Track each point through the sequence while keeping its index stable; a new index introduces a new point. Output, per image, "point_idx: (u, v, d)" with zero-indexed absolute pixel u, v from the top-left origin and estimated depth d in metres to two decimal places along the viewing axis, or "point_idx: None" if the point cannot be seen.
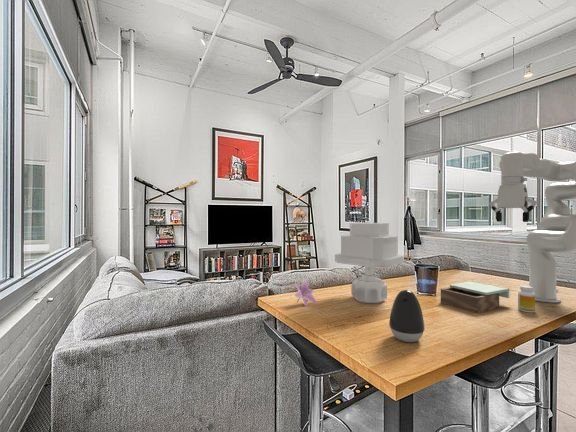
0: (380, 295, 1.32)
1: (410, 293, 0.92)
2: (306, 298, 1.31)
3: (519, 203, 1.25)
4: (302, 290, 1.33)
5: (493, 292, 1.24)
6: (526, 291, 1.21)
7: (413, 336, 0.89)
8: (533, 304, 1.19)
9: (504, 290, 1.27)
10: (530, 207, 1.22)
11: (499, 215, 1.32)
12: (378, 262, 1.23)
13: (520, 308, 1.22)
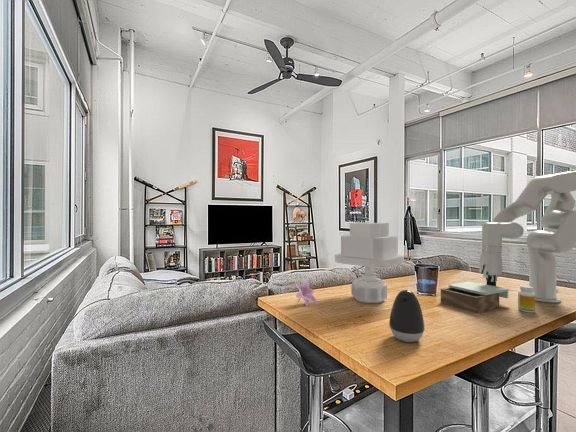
0: (380, 295, 1.32)
1: (410, 293, 0.92)
2: (306, 298, 1.31)
3: (501, 270, 1.36)
4: (303, 290, 1.33)
5: (492, 292, 1.24)
6: (526, 291, 1.21)
7: (413, 336, 0.89)
8: (533, 304, 1.19)
9: (503, 290, 1.27)
10: (496, 276, 1.37)
11: None
12: (378, 262, 1.23)
13: (520, 308, 1.22)
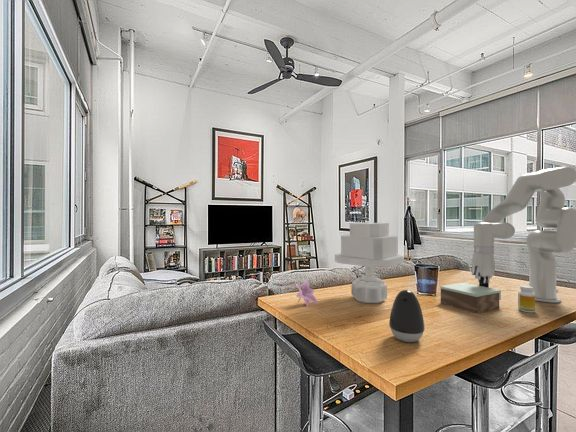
0: (380, 295, 1.32)
1: (410, 293, 0.92)
2: (307, 298, 1.31)
3: (493, 271, 1.34)
4: (303, 290, 1.33)
5: (484, 294, 1.21)
6: (526, 291, 1.21)
7: (413, 336, 0.89)
8: (533, 304, 1.19)
9: (495, 292, 1.25)
10: None
11: None
12: (378, 262, 1.23)
13: (520, 308, 1.22)
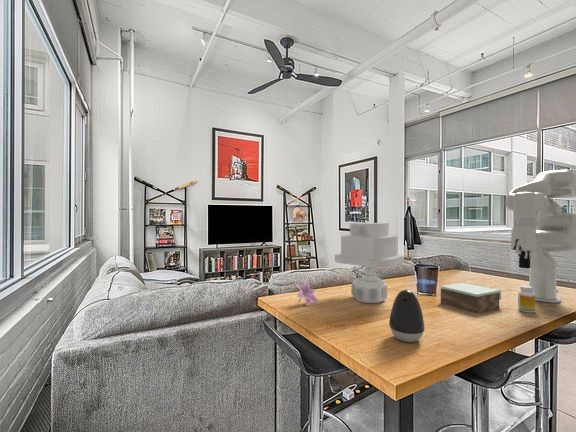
0: (380, 295, 1.32)
1: (410, 293, 0.92)
2: (307, 298, 1.31)
3: (535, 246, 1.22)
4: (304, 290, 1.32)
5: (484, 294, 1.21)
6: (526, 291, 1.21)
7: (413, 336, 0.89)
8: (533, 304, 1.19)
9: (496, 292, 1.25)
10: (530, 253, 1.23)
11: None
12: (378, 262, 1.23)
13: (520, 308, 1.22)
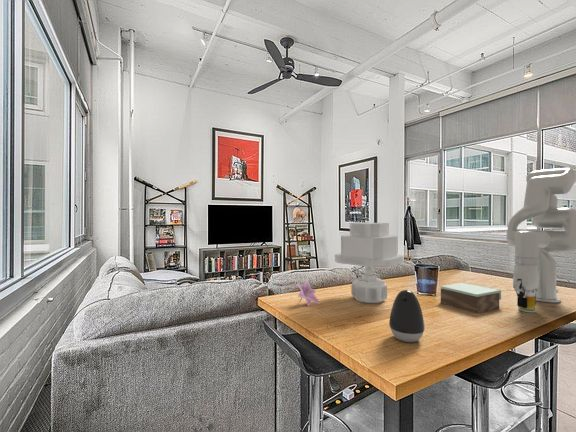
0: (380, 295, 1.32)
1: (410, 293, 0.92)
2: (308, 298, 1.31)
3: (537, 285, 1.22)
4: (304, 290, 1.32)
5: (484, 294, 1.21)
6: None
7: (413, 336, 0.89)
8: (533, 304, 1.19)
9: (496, 292, 1.25)
10: (535, 290, 1.24)
11: None
12: (378, 262, 1.23)
13: (520, 308, 1.22)
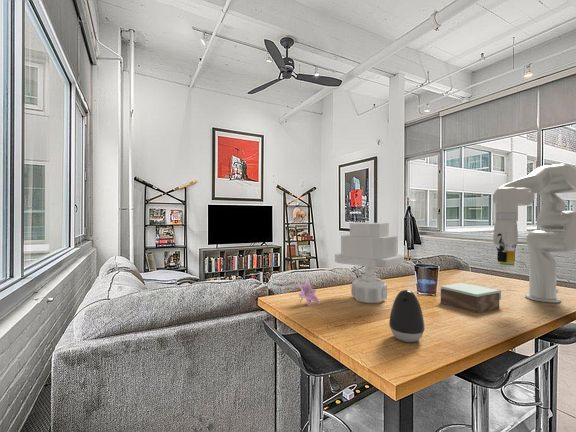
0: (380, 295, 1.32)
1: (410, 293, 0.92)
2: (309, 298, 1.31)
3: (516, 240, 1.24)
4: (305, 290, 1.32)
5: (484, 294, 1.21)
6: None
7: (413, 336, 0.89)
8: (512, 258, 1.22)
9: (496, 292, 1.25)
10: (515, 246, 1.26)
11: None
12: (378, 262, 1.23)
13: (500, 263, 1.24)
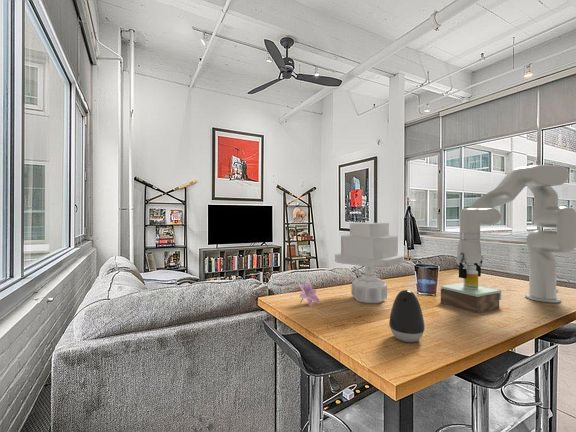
0: (380, 295, 1.32)
1: (410, 293, 0.92)
2: (309, 298, 1.31)
3: (479, 259, 1.29)
4: (306, 290, 1.32)
5: (484, 294, 1.21)
6: (470, 269, 1.28)
7: (413, 336, 0.89)
8: (476, 281, 1.27)
9: (496, 292, 1.25)
10: (481, 262, 1.32)
11: None
12: (378, 262, 1.23)
13: (465, 285, 1.30)
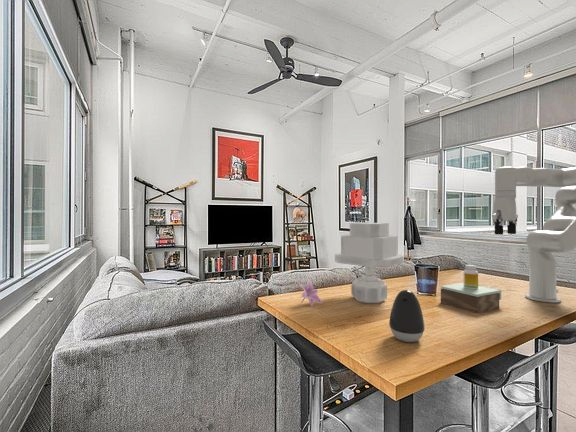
0: (380, 295, 1.32)
1: (410, 293, 0.92)
2: (311, 298, 1.31)
3: (515, 216, 1.33)
4: (307, 290, 1.32)
5: (484, 294, 1.21)
6: (470, 269, 1.28)
7: (413, 336, 0.89)
8: (476, 281, 1.27)
9: (496, 292, 1.25)
10: (516, 220, 1.35)
11: None
12: (378, 262, 1.23)
13: (465, 285, 1.30)
